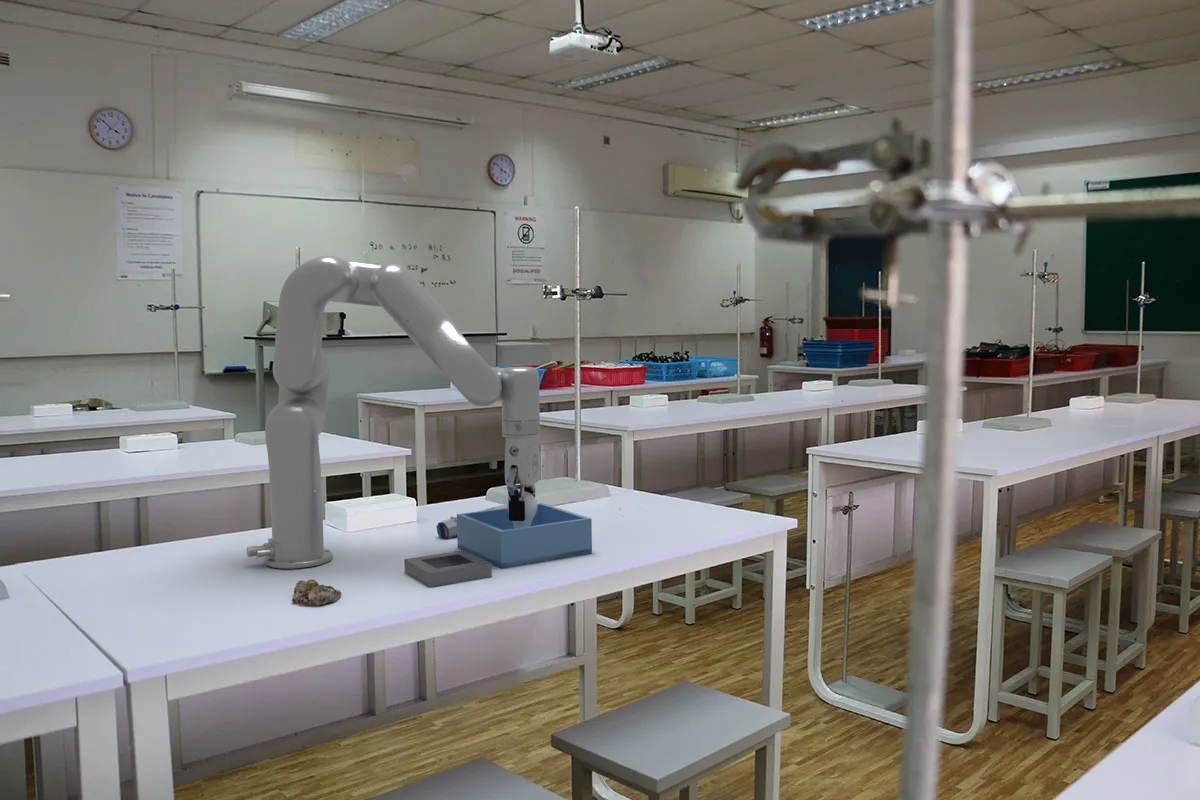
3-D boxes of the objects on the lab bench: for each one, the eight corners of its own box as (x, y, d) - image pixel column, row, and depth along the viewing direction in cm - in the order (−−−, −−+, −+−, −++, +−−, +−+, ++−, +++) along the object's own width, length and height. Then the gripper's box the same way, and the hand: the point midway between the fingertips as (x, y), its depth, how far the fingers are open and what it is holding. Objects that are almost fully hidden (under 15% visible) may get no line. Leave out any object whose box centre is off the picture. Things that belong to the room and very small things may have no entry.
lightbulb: (540, 547, 190) (540, 492, 190) (509, 548, 188) (510, 492, 188) (533, 543, 195) (534, 489, 196) (504, 544, 194) (504, 490, 194)
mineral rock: (353, 587, 160) (308, 583, 155) (348, 613, 159) (303, 610, 154) (326, 577, 168) (282, 572, 163) (321, 601, 168) (277, 598, 162)
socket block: (429, 587, 167) (429, 573, 167) (404, 572, 177) (404, 559, 177) (491, 576, 173) (491, 563, 173) (464, 562, 183) (463, 550, 183)
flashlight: (433, 519, 206) (525, 489, 222) (438, 549, 207) (528, 516, 223) (446, 523, 202) (538, 492, 218) (451, 553, 203) (542, 520, 219)
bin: (501, 568, 179) (500, 531, 178) (457, 547, 195) (456, 514, 195) (592, 553, 189) (591, 518, 189) (542, 534, 206) (542, 503, 206)
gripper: (526, 434, 181) (527, 526, 183) (550, 424, 198) (551, 509, 199) (488, 433, 183) (490, 525, 184) (516, 423, 200) (517, 508, 201)
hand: (522, 516), depth 192 cm, fingers open, 6 cm apart
